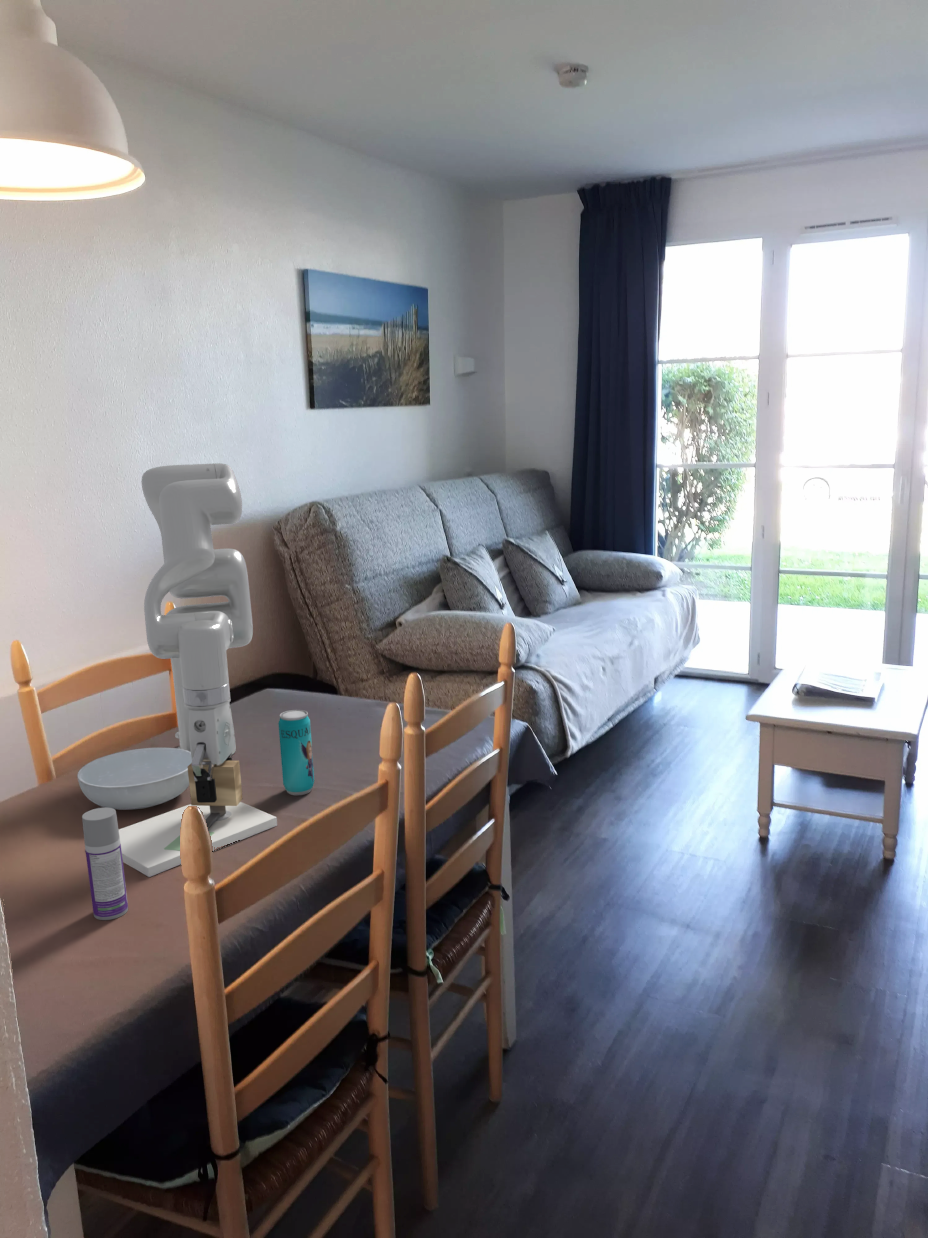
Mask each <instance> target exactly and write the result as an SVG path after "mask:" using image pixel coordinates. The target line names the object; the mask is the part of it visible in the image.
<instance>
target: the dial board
mask: <svg viewBox="0 0 928 1238" xmlns="http://www.w3.org/2000/svg"><path fill="white" fill-rule="evenodd" d="M188 806H191V803H190V804H187V805H184V806H181V807H179V808H176V809H172V810H170V811H167V812H165V813H161V814H159V815H156V816H152V817H150V818H147V819H144V820H142V821H139V822H137V823H133V824H131V825H128V826H125V827H122V828H118V829H119V836H120V843H121V851H122V859H123V864H126V865H128V866H129V867H131V868H133V869H134V870H136V871H138V872H139V873H141V874H143V875H145V876H147V877H148V878H150V877H153V876H155V875H157V874H161V873H162V872H166V871H168V870H171V869H172V868H174V867H178V866H180V865H182V864H181V859H180V827H181V819H182V814H183V812H184V810H185V809H186V808H187V807H188ZM197 807H199V808H200V810H201V811H202V812H203V815H204V818H205V820H206V819H207V817H208V816H209V815H210V806H197ZM225 807H226V814H225V815H223V816H220V817H219V818H218V819H217V820H216V821H215V822H214V824H213V825H212V826H211V827H210V828H209V830H208V831H209V833H210V836H211V840H212V846H213V852H215V851H214V847H215V849H216V848H217V847H221V846H224V845H227V844H230V843H232V844H234V843H233V842H235V841H237V842H239V841H238V840H240V841H242V840H244V839H248V838H249V837H252V836H255V835H257V834H259V833H263V832H265V831H267V830H269V829H273V828H274V827H277V826H278V818H277V816H275V815H272V814H270V813H267V812H265V811H264V810H260V809H259V808H256V807H254V806H251V805H249V804H246V803H244V802H242V801H241V802H240V803H239V804H238V805H237V806H225ZM235 843H236V842H235ZM230 845H231V844H230Z"/></svg>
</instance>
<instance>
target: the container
mask: <svg viewBox="0 0 928 1238" xmlns="http://www.w3.org/2000/svg"><path fill="white" fill-rule="evenodd" d="M116 810H117V809H113V808H105V807H97V808H94V809H91V810H88V811H86V812H84V813H83V814H82V816H81V819H82V829H83V839H84V851H85V852H84V853H85V858H86V866H87V874H88V881H89V882H88V883H89V891H90V897H91V905H92V912H93V913H92V914H93V917H94V918H95V919H96V920H99V921H111V920H114V919H118V918H120V917H122V916H124V915H125V914H126V913H127V912H128V911H129V903H128V894H127V893H128V892H127V886H126V885H127V884H126V876H125V869H124V862H123V859H122V851H121V843H120V836H119V829H120V828H119V824H118V816H117V811H116Z"/></svg>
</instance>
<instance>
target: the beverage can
mask: <svg viewBox="0 0 928 1238" xmlns="http://www.w3.org/2000/svg"><path fill="white" fill-rule="evenodd" d="M308 715H309V712H308V711H307V710H304V709H292V710H291V709H290V710H286V711H283V712H281V713H280V714H279V721H278V723H277V725H278V735H279V749H280V761H281V774H282V784H283V786H284V789H285V791H286V793H287V794H289V795H291V796H303V795H307V794H309V793H310V792H311V791H312V790H313V786H314V784H315V770H314V757H313V743H312V742H313V741H312V731H311V730H312V728H311V719H310V717H309V716H308Z"/></svg>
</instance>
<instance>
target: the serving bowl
mask: <svg viewBox="0 0 928 1238" xmlns="http://www.w3.org/2000/svg"><path fill="white" fill-rule="evenodd" d="M177 748H178V747H144V748H143V747H142V748H136V749H128V750H124V751H119V752H115V753H111V754H108V755H104V756H102V757H101V756H100V757H98V758H96V759H94V760H92V761H90V762H88V763H86V764H85V765H84V766H82V767H81V768H80V769H79V771H78V772H77V777H76V778H77V781H78V785H79V788H80V789H81V791H82V793H83V795H84V796H85V797H86V798H87V799H88V800H89V801H91V802H92V803H94V804H95V805H97V806H99V807H101V808H113V809H115V810H119V811H120V810H121V811H122V810H123V811H124V810H141V809H147V808H151V807H154V806H158V805H161V804H164V803H166V802H169V801H171V800H173V799H174V798H176V797H178V796H180V795H181V794H182V793H183V792H185V790H187V789H188V788H189V777H188V766H189V765H190V764H191V763H192V758H191V752H189V751H186V750H183V749H177Z"/></svg>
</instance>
